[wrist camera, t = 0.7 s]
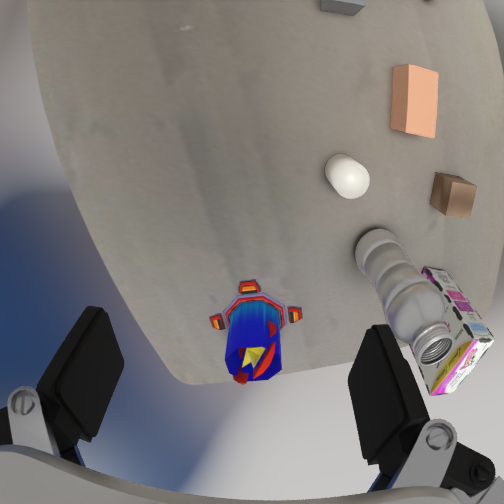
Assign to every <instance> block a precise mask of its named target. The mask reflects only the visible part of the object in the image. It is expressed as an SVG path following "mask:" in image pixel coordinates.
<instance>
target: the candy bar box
mask: <svg viewBox="0 0 504 504" xmlns="http://www.w3.org/2000/svg"><path fill="white" fill-rule="evenodd" d="M422 275H423V276H425V277H426V278H427V279H428V280H429V281H430V282H431V283H433V284H434V285H435V286H436V287H437V288H438V289H439V290H440V291H441V293H442V295H443V299H444V302H445V315H444V321H443V323H445V324H446V326H447V327H448V329H449V333H450V335H451V336H452V338H453V342H454V344H453V347H452V349H451V351H450V352H449V354H448V355H447V356H446V357H445V358H444V359H442V360H441V361H439V362H438V363H436V364H433V365H430V366H423V365H421V364H420V363H419V361H418V359H417V357H416V355H415V354H414V352H413V350H412V345H411V344H409V346H410V348H411V350H412V353H413V355H414V357H415V359H416V362H417V365H418V367H419V369H420V372H421V374H422V377H423V379H424V382H425V385H426V387H427V390H428V393H429V395H430V396H434V395H441V394H450V393H452V392H453V391H454V390H455V389H456V388H457V387H458V386H459V384H460V383H461V382H462V381H463V380H464V379H465V377H466V376H467V375H468V374H469V373H470V371H471V370H472V369H473V368H474V366H475V365H476V364H477V363H478V361H479V360H480V359H481V358H482V356H483V355H484V354H485V352H486V351H487V349H488V348H489V347H490V346H491V344H492V343H493V341H494V340H495V339H494V337H493V335H492V334H491V332H490V331H489V329H488V328H487V327H486V325H485V323H484V322H483V321H482V319H481V317H480V316H479V315H478V313H477V312H476V310H475V309H474V308H473V306H472V305H471V304H470V302H469V301H468V300H467V298H466V297H465V295H464V294H463V293H462V291H461V290H460V289H459V288H458V286H457V285H456V284H455V282H454V281H453V280H452V278H451V277H450V276H449V275H448V274H447V272H446V271H444V270H439V269H434V268H429V267H424V269H423V272H422Z"/></svg>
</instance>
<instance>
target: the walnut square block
mask: <svg viewBox="0 0 504 504" xmlns="http://www.w3.org/2000/svg"><path fill="white" fill-rule="evenodd" d="M476 188H477V186H476V185H474V184H472V183H470V182H468V181H466V180H465V179H463V178H461V177H459V176H453V175H448V174H443V173H437V172H435V178H434V183H433V189H432V194H431V199H430V204H431V205H433V206H434V207H435V208H436V209H438V210H439V211H440V212H442V213H443V214H444V215H445V216H454V217H463V218H470V215H471V211H472V206H473V202H474V198H475V193H476Z"/></svg>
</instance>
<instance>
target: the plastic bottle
mask: <svg viewBox="0 0 504 504" xmlns="http://www.w3.org/2000/svg"><path fill="white" fill-rule="evenodd" d="M355 257H356V262H357V266H358V268H359V270H360V271H361V272H362V273H363V275H364V276H365V277H366V278H367V279H368V280H369V281H370V282H371V284H372V285H373V287H374V288H375V290H376V292H377V294H378V297H379V299H380V301H381V304H382V308H383V311H384V315H385V319H386V323H387V324H388V325H389V326H390V328H391V330H392V332H393V334H394V336H395V337H396V338H397V339H398V340H400V341H402V342H404V343H407V344H411V345H412V350H413V352H414V354H415V355H416V357H417V359H418V361H419V363H420V364H421V365H423V366H430V365H433V364H436V363H438V362H439V361H441V360H442V359H444V358H445V357H446V356H447V355H448V354H449V352H450V351H451V349H452V347H453V344H454V342H453V338H452V336H451V335H450V333H449V329H448V327H447V326H446V324H445V323H443V321H444V315H445V302H444V299H443V295H442V293H441V291H440V290H439V289H438V288H437V287H436V286H435V285H434V284H433V283H431V282H430V281H429V280H428V279H427V278H426V277H425V276H423V275H422V274H421V273H420V271H419V270H418V269H417V268H416V267H415V266H414V265H413V264H412V263H411V261H410V260H409V258H408V256H407V255H406V253H405V251H404V249H403V246H402V244H401V242H400V241H399V239H398V238H397V236H395V235H394V234H393V233H391V232H390V231H388V230H385V229H374V230H372V231H369V232H368V233H366V234H365V235H364V236H363V237H362V238H361V239H360V240H359V242H358V244H357V246H356V250H355Z"/></svg>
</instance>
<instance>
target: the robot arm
mask: <svg viewBox="0 0 504 504" xmlns="http://www.w3.org/2000/svg"><path fill="white" fill-rule="evenodd" d="M123 368H124V359H123V356H122V354H121V351H120V348H119V346H118V343H117V340H116V337H115V334H114V331H113V328H112V325H111V322H110V319H109V316H108V313H107V312H105V311H104V309H103V308H100V307H94V306H88V307H87V308H86V309H85V310H84V312H83V313H82V314H81V316H80V317H79V319H78V320H77V322H76V323H75V325H74V326H73V328H72V329H71V331H70V332H69V334H68V335H67V337H66V338H65V340H64V342H63V343H62V345H61V346H60V348H59V349H58V351H57V353H56V354H55V356H54V357H53V359H52V361H51V362H50V364H49V366H48V367H47V369H46V371H45V372H44V374H43V376H42V377H41V379H40V381H39V383H38V384H37V388H36V390H34V389H33V388H31V387H27V386H24V387H20V388H18V389H16V390H15V391H13V392H12V394H11V395H10V397H9V399H8V406H7V407H4V408H2V409H0V504H504V481H503V480H502V478H501V477H500V476H498V477H497V478H496V477H495V467H494V464H493V462H492V461H491V460H490V459H489V458H487V457H486V456H484V455H482V454H480V453H478V452H476V451H474V450H472V449H470V448H468V447H466V446H464V445H462V444H461V443H459V442H457V433H456V431H455V428H454V427H453V426H452V425H451V423H449V422H447V421H446V420H443V419H433V420H430V418H429V415H428V412H427V409H426V406H425V404H424V401H423V398H422V396H421V393H420V390H419V388H418V385H417V383H416V380H415V378H414V375H413V373H412V370H411V368H410V365H409V363H408V361H407V360H406V359H404V358H403V355H402V353H401V350H400V348H399V346H398V343H397V341H396V339H395V337H394V334H393V332H392V330H391V328H390V326H389V325H388V324H383V325H373V326H372V327H371V329H367V331H366V333H365V336H364V339H363V341H362V344H361V346H360V349H359V351H358V354H357V356H356V359H355V361H354V364H353V366H352V368H351V371H350V373H349V376H348V386H349V391H350V396H351V400H352V405H353V410H354V415H355V419H356V424H357V430H358V434H359V440H360V445H361V451H362V456H363V458H364V459H367V462H368V465H373V464H379V469H380V473H379V475H378V476H377V478H376V479H375V481H374V482H373V484H372V485H371V487H370V489H369V490H368V492H367V493H362V494H355V495H348V496H340V497H331V498H321V499H308V500H285V501H263V500H238V499H225V498H215V497H206V496H198V495H191V494H185V493H179V492H173V491H168V490H163V489H159V488H154V487H149V486H145V485H141V484H137V483H133V482H130V481H126V480H122V479H119V478H116V477H113V476H109V475H106V474H103V473H100V472H97V471H94V470H91V469H89V468H86V466H85V463H84V461H83V459H82V456H81V454H80V451H79V448H78V446H77V443H78V440H79V439H82V440H85V441H87V442H91V440H92V437H95V436H96V435H97V433H98V431H99V428H100V425H101V423H102V420H103V417H104V415H105V412H106V410H107V407H108V404H109V402H110V400H111V397H112V395H113V392H114V389H115V387H116V385H117V382H118V380H119V378H120V375H121V373H122V371H123Z"/></svg>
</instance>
